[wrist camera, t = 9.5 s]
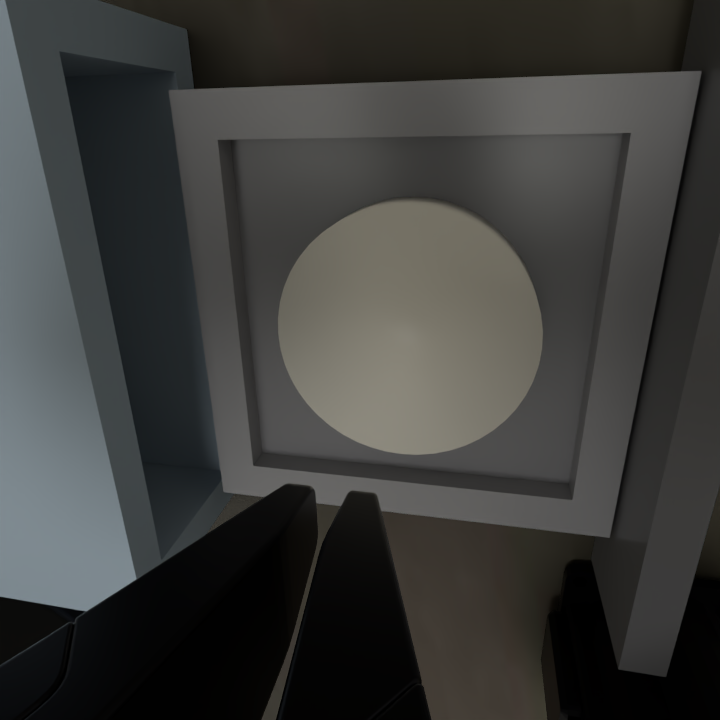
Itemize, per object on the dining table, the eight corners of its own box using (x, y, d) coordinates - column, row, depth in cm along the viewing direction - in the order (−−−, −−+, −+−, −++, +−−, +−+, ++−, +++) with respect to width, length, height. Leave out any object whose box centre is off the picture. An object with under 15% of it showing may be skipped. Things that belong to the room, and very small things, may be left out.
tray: (761, -48, 12) (893, -130, 8) (628, 563, 19) (666, 677, 15) (182, -5, 15) (75, -52, 11) (245, 515, 21) (192, 600, 18)
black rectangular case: (-57, 449, 23) (-387, 1000, 12) (195, 555, 30) (135, 955, 19) (-98, 486, 24) (-425, 1008, 13) (153, 579, 32) (74, 964, 21)
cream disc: (551, 197, 14) (559, 205, 13) (524, 437, 17) (527, 466, 15) (288, 195, 15) (267, 202, 14) (302, 417, 18) (286, 442, 17)
